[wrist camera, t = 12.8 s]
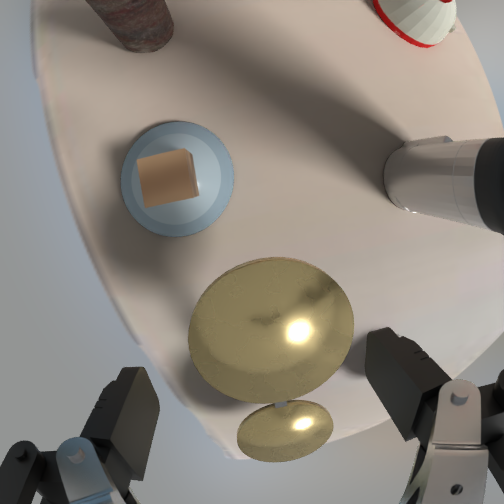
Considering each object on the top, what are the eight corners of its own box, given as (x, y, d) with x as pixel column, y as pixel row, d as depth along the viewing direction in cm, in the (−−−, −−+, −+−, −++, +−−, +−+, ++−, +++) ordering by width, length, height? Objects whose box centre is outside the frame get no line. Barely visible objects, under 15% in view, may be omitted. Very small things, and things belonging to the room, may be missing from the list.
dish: (153, 108, 31) (150, 105, 29) (253, 151, 33) (254, 150, 32) (108, 208, 33) (104, 209, 32) (203, 253, 36) (203, 255, 34)
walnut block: (152, 163, 31) (136, 159, 25) (192, 154, 31) (184, 148, 26) (159, 203, 32) (145, 208, 27) (199, 195, 33) (193, 197, 27)
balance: (194, 236, 35) (167, 279, 19) (297, 217, 35) (350, 245, 19) (242, 421, 43) (250, 498, 27) (315, 407, 43) (343, 479, 28)
